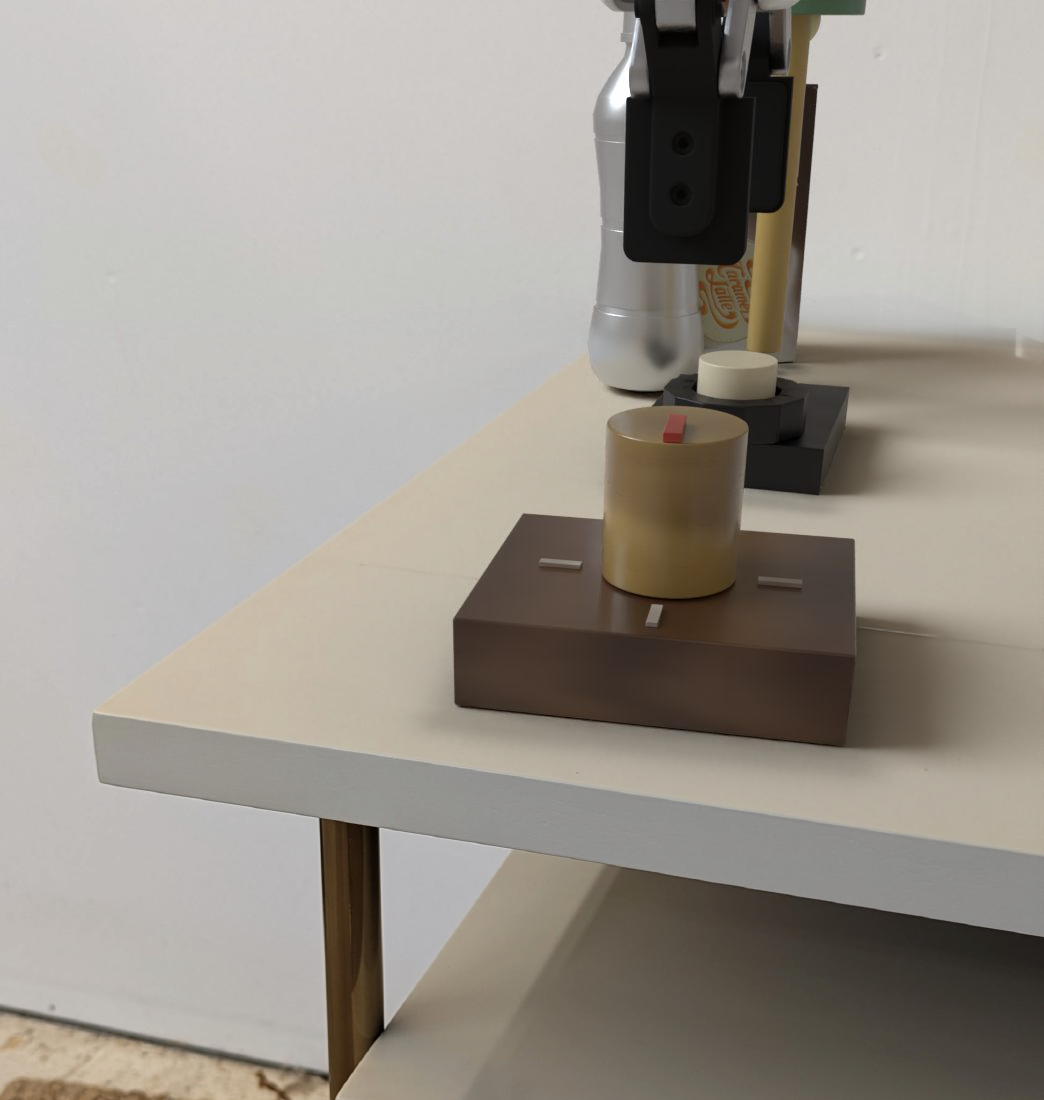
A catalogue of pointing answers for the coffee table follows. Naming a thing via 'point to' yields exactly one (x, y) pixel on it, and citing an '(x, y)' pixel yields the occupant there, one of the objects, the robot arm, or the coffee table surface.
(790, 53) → the robot arm
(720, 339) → the coffee box
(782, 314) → the lamp
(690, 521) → the dimmer knob
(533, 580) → the dimmer panel
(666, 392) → the black button base
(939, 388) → the coffee table surface
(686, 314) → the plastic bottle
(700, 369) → the button
